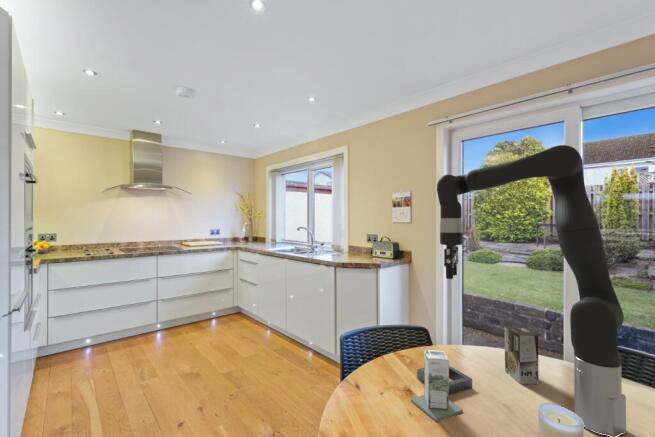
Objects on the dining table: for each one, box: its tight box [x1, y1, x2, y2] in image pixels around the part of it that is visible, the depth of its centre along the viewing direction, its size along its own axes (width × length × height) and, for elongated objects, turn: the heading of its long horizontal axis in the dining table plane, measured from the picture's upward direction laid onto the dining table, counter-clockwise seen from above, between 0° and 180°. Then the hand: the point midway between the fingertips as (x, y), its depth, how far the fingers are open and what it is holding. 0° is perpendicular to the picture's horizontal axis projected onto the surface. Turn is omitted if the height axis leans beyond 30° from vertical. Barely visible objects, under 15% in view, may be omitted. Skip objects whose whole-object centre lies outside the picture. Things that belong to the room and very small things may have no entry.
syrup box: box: [423, 349, 450, 409], centre depth 87 cm, size 6×6×14 cm
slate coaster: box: [410, 394, 464, 422], centre depth 87 cm, size 10×10×1 cm
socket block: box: [416, 365, 473, 396], centre depth 99 cm, size 12×12×3 cm
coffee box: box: [503, 325, 540, 385], centre depth 103 cm, size 9×6×16 cm
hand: (451, 276), depth 106 cm, fingers open, 8 cm apart
